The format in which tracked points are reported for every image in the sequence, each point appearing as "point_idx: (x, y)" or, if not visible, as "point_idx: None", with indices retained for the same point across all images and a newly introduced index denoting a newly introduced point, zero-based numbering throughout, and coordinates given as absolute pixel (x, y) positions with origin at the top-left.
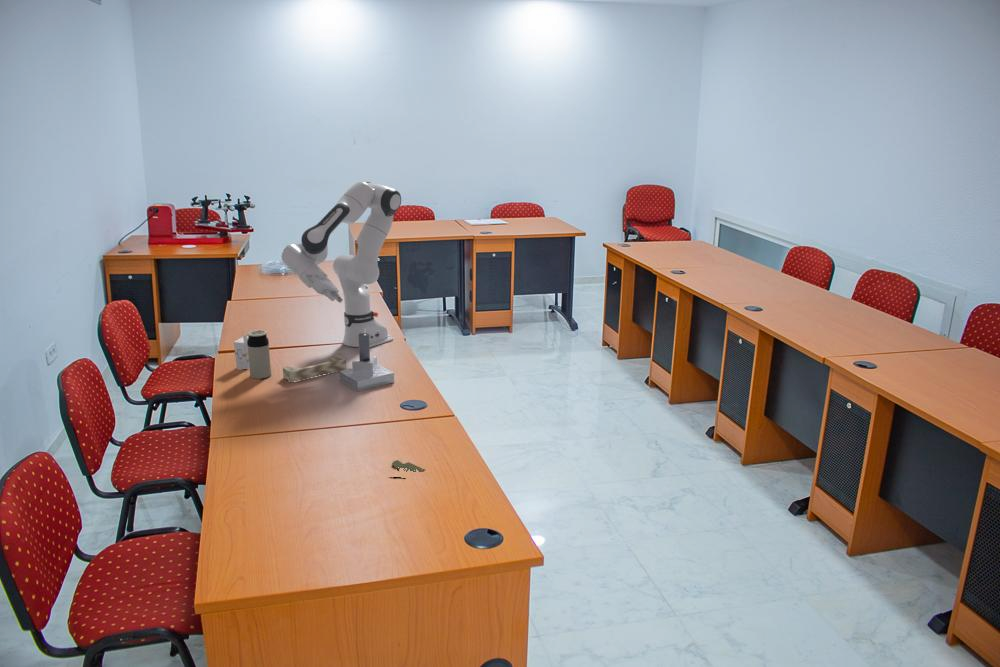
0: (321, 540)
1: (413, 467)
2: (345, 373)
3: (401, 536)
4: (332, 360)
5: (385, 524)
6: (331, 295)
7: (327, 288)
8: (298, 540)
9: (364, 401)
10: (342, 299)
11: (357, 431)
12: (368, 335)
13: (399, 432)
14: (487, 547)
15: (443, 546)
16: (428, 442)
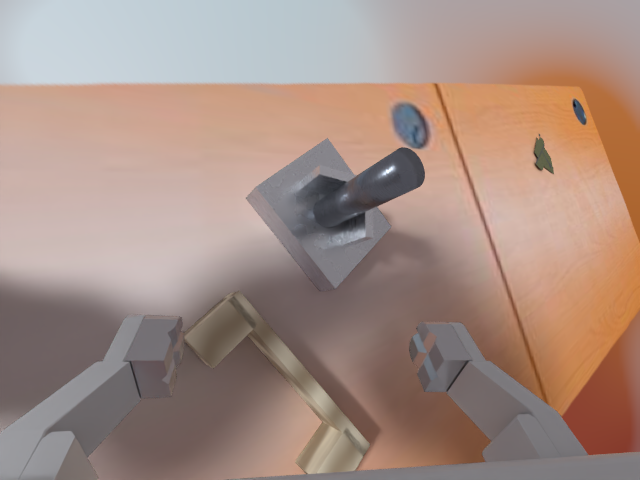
0: (612, 224)
1: (538, 148)
2: (348, 267)
3: (594, 167)
4: (235, 345)
5: (590, 178)
6: (482, 365)
7: (586, 456)
8: (617, 242)
9: (413, 213)
10: (141, 315)
11: (496, 215)
12: (408, 150)
13: (486, 157)
14: (584, 112)
15: (591, 140)
16: (496, 124)
